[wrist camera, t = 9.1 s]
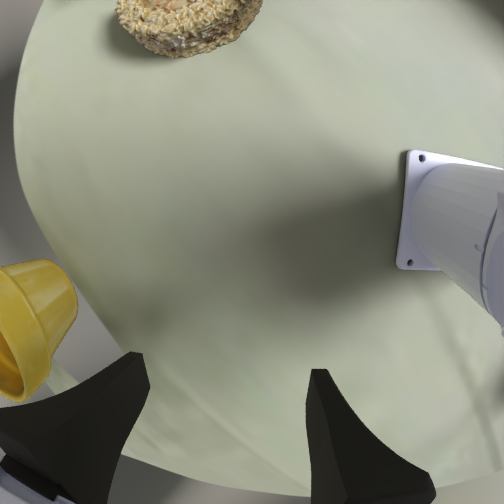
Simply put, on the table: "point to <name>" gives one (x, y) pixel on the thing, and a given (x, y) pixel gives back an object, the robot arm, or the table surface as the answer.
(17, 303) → the plant pot
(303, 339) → the table surface
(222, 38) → the cake
